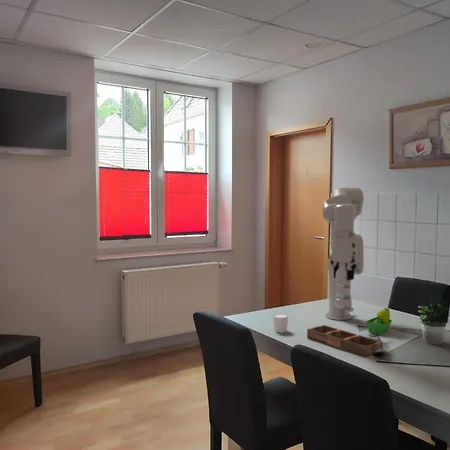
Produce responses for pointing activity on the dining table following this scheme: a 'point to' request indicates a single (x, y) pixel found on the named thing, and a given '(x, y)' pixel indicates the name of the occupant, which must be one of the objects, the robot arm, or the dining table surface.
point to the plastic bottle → (343, 288)
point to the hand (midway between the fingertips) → (343, 278)
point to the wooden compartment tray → (344, 340)
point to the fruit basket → (380, 322)
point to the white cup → (280, 323)
